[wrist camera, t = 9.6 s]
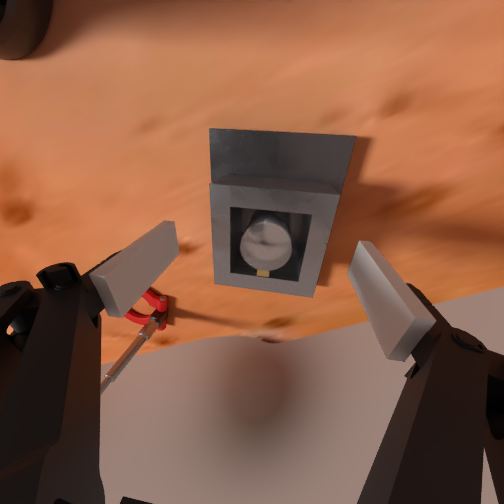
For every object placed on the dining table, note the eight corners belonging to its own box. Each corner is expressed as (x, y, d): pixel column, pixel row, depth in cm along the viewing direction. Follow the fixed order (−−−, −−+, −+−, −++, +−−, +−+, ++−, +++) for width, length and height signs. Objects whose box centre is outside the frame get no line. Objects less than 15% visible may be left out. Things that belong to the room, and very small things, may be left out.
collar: (227, 174, 18) (209, 183, 14) (326, 182, 17) (340, 195, 13) (228, 257, 23) (214, 283, 18) (307, 266, 22) (312, 297, 17)
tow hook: (118, 309, 34) (168, 328, 33) (30, 390, 23) (103, 419, 22) (113, 271, 30) (171, 292, 29) (2, 347, 18) (93, 382, 18)
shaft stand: (214, 129, 18) (178, 122, 12) (350, 136, 17) (387, 132, 11) (219, 272, 26) (199, 311, 20) (312, 284, 25) (321, 330, 19)
